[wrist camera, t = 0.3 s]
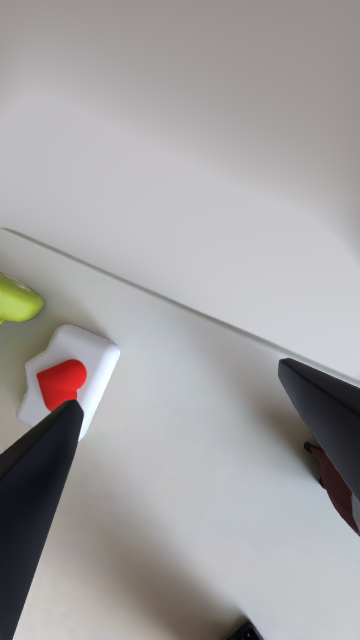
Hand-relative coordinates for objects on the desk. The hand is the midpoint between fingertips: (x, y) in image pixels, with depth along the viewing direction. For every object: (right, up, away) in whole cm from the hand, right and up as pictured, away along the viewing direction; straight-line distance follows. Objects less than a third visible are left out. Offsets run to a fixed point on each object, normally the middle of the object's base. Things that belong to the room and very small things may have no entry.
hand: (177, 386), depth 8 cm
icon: (-14, -4, +15) cm, 21 cm away
